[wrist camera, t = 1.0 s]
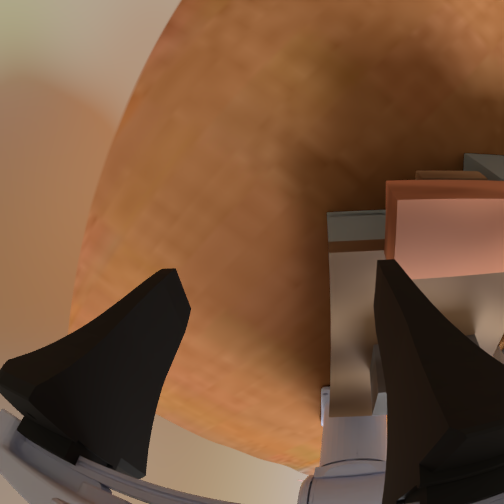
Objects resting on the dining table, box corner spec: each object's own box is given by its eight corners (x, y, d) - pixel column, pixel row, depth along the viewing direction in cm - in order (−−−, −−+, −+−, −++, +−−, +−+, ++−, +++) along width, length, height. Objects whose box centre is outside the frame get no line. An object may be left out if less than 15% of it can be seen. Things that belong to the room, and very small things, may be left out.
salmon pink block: (505, 246, 13) (523, 270, 11) (384, 253, 15) (392, 280, 13) (517, 181, 11) (540, 199, 9) (385, 180, 13) (397, 199, 11)
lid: (461, 387, 23) (472, 437, 18) (329, 400, 27) (326, 454, 22) (531, 170, 12) (587, 212, 8) (322, 169, 16) (325, 217, 11)
